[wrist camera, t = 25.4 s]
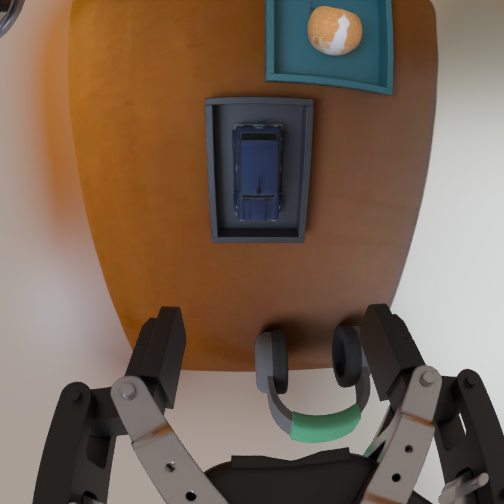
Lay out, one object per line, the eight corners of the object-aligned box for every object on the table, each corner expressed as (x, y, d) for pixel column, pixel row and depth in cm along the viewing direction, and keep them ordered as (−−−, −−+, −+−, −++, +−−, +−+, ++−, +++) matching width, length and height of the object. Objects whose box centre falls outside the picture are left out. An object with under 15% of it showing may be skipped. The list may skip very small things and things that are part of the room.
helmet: (300, 21, 26) (301, 60, 25) (312, -17, 19) (316, 17, 18) (345, 31, 26) (352, 72, 25) (362, -4, 19) (374, 33, 19)
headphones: (256, 357, 52) (258, 453, 35) (254, 317, 46) (256, 428, 29) (351, 350, 52) (376, 438, 34) (363, 310, 46) (401, 407, 29)
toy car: (234, 213, 36) (231, 233, 31) (232, 119, 30) (229, 123, 25) (280, 213, 36) (285, 233, 32) (284, 120, 30) (290, 124, 25)
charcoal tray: (208, 98, 29) (204, 98, 27) (308, 99, 29) (313, 99, 27) (214, 231, 38) (211, 243, 36) (300, 231, 38) (304, 242, 36)
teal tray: (264, -22, 21) (266, -31, 18) (380, -4, 21) (390, -10, 18) (265, 82, 28) (266, 80, 26) (381, 94, 28) (392, 95, 26)
